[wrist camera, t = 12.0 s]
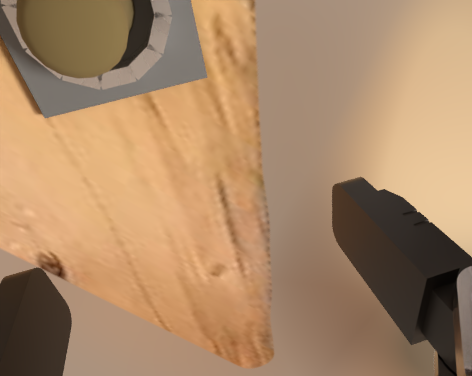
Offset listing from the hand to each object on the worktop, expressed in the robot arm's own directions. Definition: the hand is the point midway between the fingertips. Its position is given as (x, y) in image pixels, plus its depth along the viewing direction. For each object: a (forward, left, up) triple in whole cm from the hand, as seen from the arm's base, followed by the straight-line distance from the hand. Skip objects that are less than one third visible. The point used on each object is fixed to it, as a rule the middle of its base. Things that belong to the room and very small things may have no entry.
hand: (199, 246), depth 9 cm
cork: (-4, -3, -23) cm, 24 cm away
